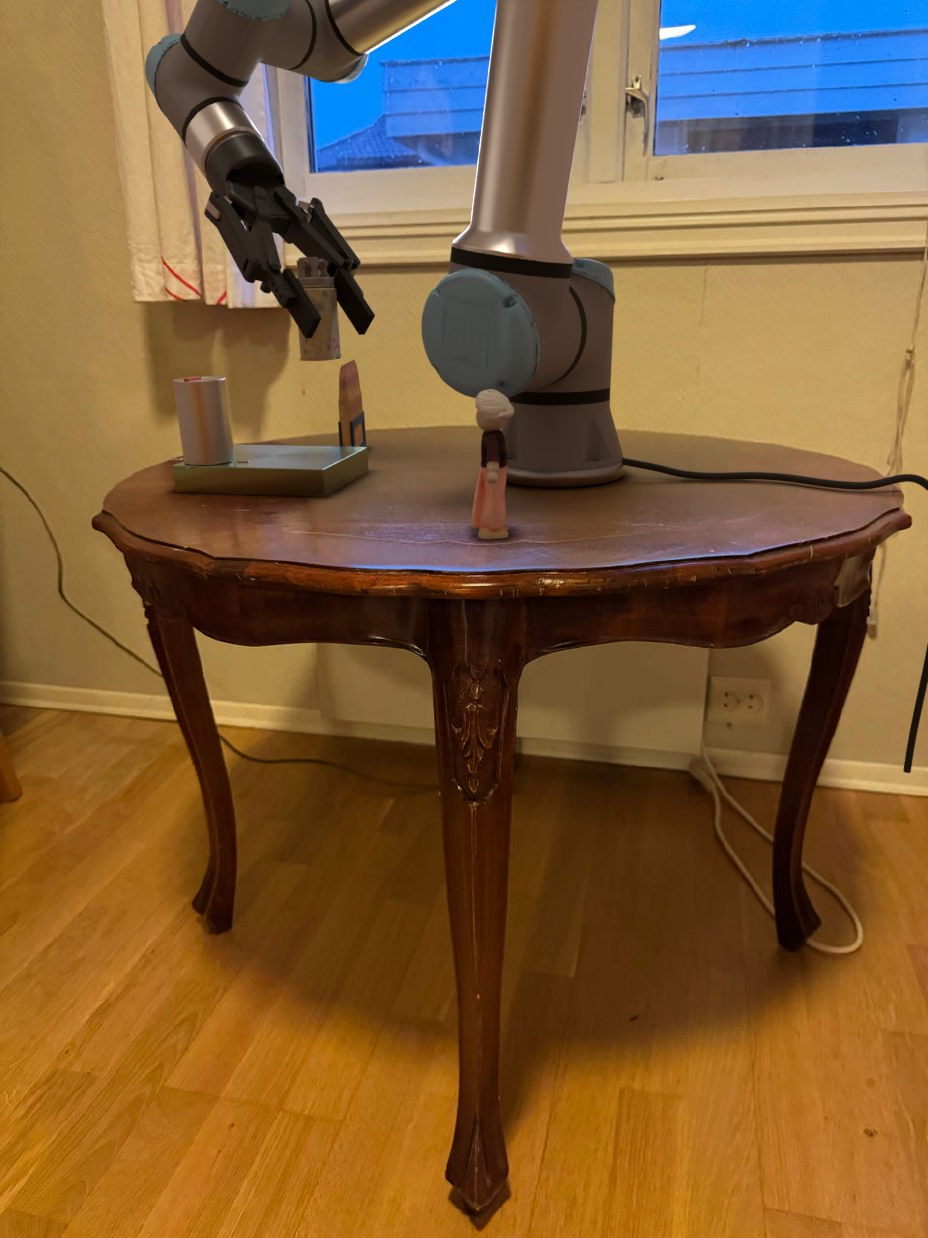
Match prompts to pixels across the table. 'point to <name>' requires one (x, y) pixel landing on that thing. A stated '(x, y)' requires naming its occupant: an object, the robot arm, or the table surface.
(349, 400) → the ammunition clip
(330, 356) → the lighter
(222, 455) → the grey metal cylinder
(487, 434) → the grandmother figurine
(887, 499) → the table surface
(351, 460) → the panel
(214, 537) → the table surface
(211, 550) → the table surface
